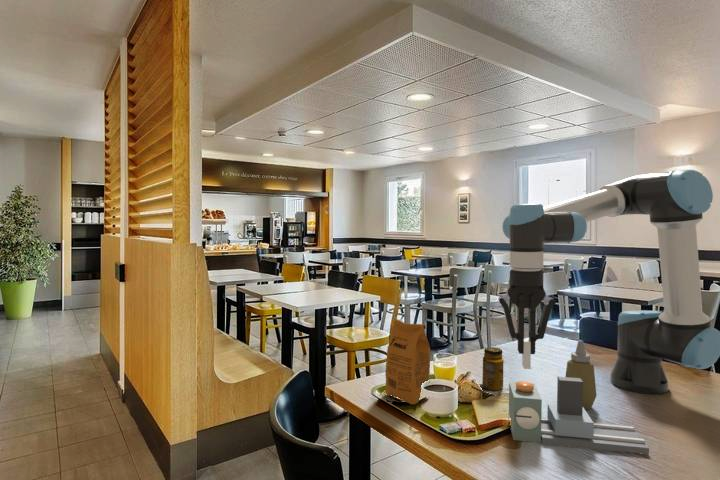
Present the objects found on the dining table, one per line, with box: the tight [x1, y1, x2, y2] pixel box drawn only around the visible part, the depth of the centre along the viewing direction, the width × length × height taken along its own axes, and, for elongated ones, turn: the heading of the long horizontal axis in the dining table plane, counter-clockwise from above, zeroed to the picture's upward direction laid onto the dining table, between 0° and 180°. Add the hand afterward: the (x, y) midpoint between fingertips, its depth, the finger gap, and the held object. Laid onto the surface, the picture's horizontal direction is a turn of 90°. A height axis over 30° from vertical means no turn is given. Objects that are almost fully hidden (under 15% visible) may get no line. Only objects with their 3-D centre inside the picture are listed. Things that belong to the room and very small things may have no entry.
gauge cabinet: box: [508, 381, 543, 444], centre depth 105 cm, size 6×10×10 cm, turn 167°
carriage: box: [546, 376, 595, 439], centre depth 103 cm, size 8×9×12 cm
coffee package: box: [385, 318, 431, 406], centre depth 127 cm, size 10×12×22 cm
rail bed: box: [541, 416, 650, 455], centre depth 103 cm, size 22×11×2 cm, turn 77°
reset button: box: [515, 380, 534, 393], centre depth 106 cm, size 4×4×3 cm
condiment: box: [478, 346, 509, 395], centre depth 133 cm, size 7×8×12 cm
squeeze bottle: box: [564, 340, 597, 411], centre depth 120 cm, size 8×8×18 cm
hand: (526, 366), depth 105 cm, fingers closed
